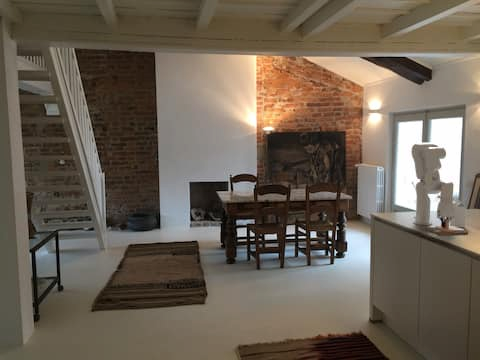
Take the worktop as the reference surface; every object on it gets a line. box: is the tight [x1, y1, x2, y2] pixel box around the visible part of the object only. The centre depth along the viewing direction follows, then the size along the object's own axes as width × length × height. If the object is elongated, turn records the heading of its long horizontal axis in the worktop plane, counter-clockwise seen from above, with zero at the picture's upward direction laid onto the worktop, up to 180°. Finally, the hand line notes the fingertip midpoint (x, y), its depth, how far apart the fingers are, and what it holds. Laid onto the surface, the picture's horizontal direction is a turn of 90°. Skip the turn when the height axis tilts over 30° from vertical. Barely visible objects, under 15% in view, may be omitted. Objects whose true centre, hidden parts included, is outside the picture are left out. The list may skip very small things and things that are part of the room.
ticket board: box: [425, 225, 469, 236], centre depth 275 cm, size 16×20×3 cm
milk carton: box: [449, 199, 467, 228], centre depth 291 cm, size 7×7×19 cm
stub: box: [434, 218, 455, 232], centre depth 274 cm, size 12×6×7 cm, turn 10°
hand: (444, 226), depth 275 cm, fingers closed on stub, 2 cm apart
